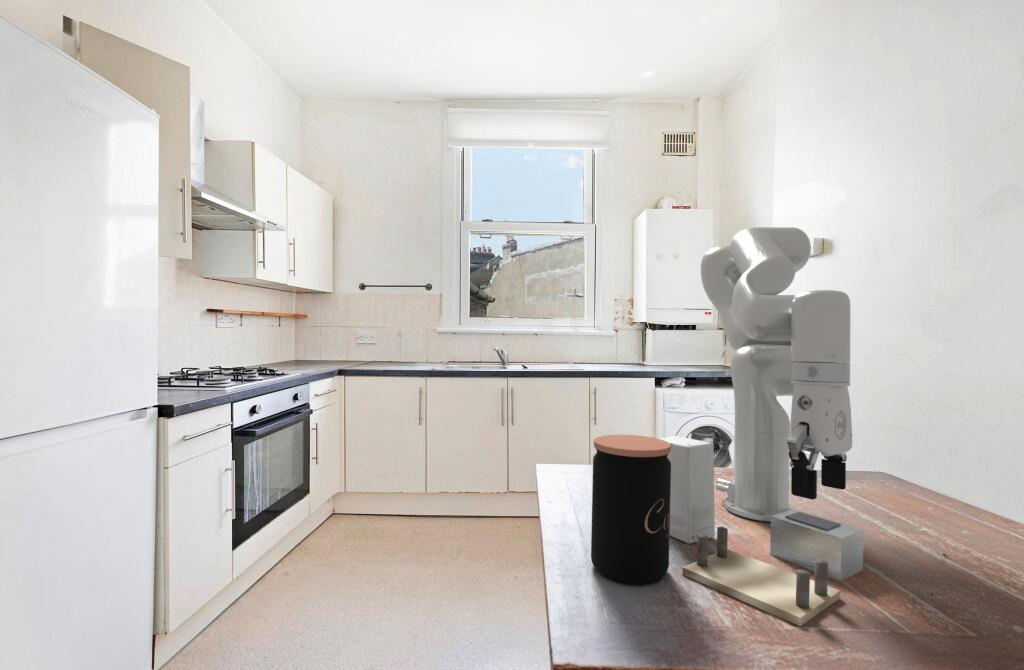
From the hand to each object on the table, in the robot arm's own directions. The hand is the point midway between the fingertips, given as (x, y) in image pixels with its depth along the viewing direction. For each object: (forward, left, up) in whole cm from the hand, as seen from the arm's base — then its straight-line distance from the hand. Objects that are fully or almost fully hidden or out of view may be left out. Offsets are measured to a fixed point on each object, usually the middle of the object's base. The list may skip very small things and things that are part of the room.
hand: (819, 492), depth 76 cm
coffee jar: (-15, -24, -11) cm, 30 cm away
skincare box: (-19, -6, -11) cm, 22 cm away
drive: (-1, +1, -11) cm, 11 cm away
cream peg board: (-2, -14, -11) cm, 18 cm away
